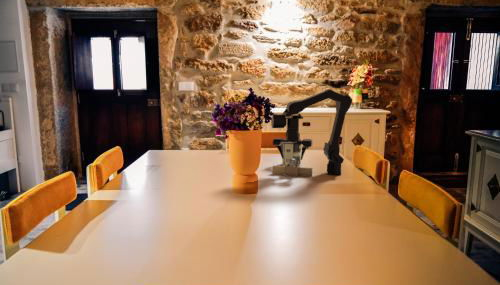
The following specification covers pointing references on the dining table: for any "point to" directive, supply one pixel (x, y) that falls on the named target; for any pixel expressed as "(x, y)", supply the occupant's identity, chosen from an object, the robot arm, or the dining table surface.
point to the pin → (292, 162)
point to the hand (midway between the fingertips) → (292, 159)
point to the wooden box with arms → (292, 170)
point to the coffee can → (291, 153)
